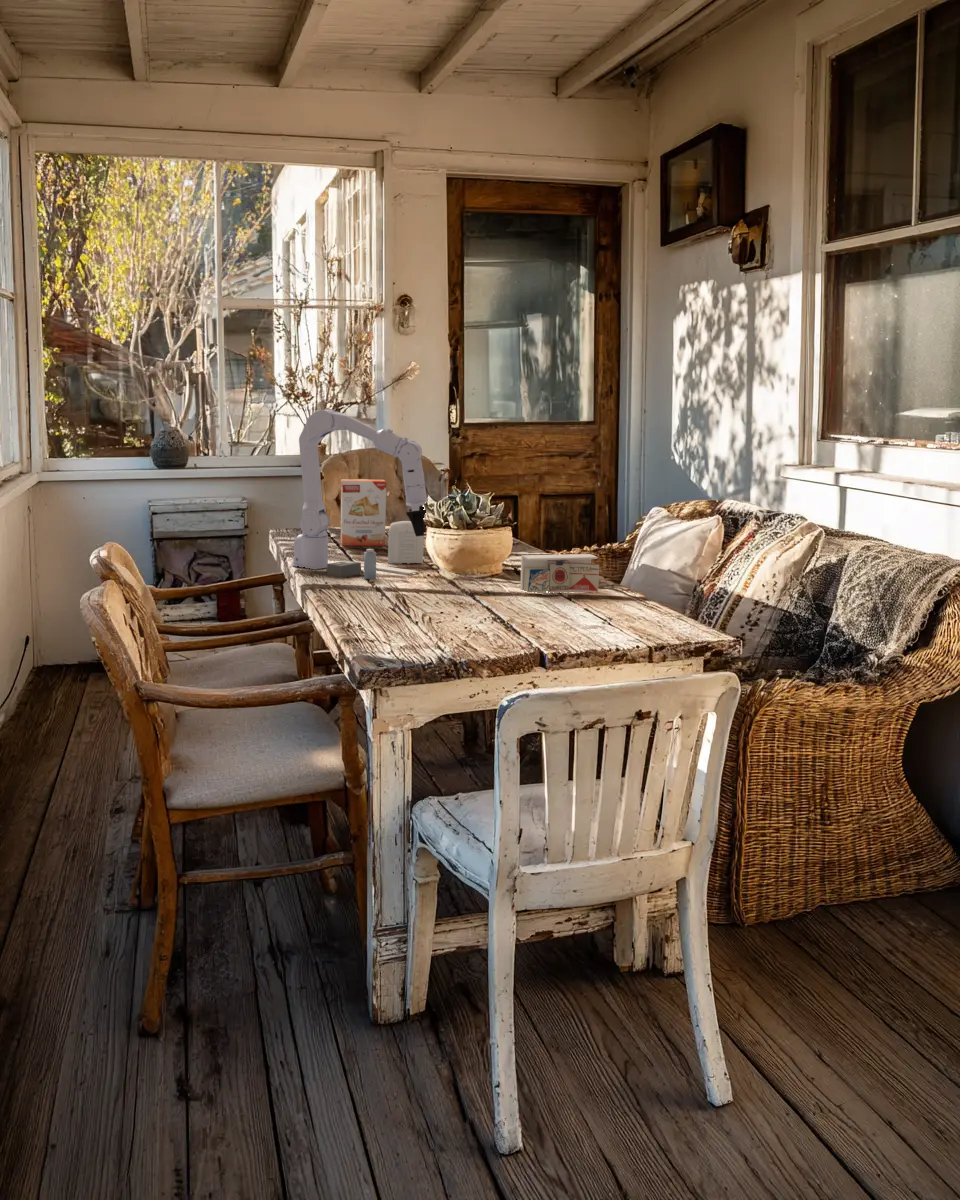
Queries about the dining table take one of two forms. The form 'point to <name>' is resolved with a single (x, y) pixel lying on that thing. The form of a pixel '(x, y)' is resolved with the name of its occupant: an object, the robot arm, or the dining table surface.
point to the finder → (344, 569)
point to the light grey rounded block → (404, 544)
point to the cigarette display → (559, 573)
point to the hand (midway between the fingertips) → (421, 534)
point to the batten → (395, 570)
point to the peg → (370, 564)
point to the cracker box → (363, 512)
